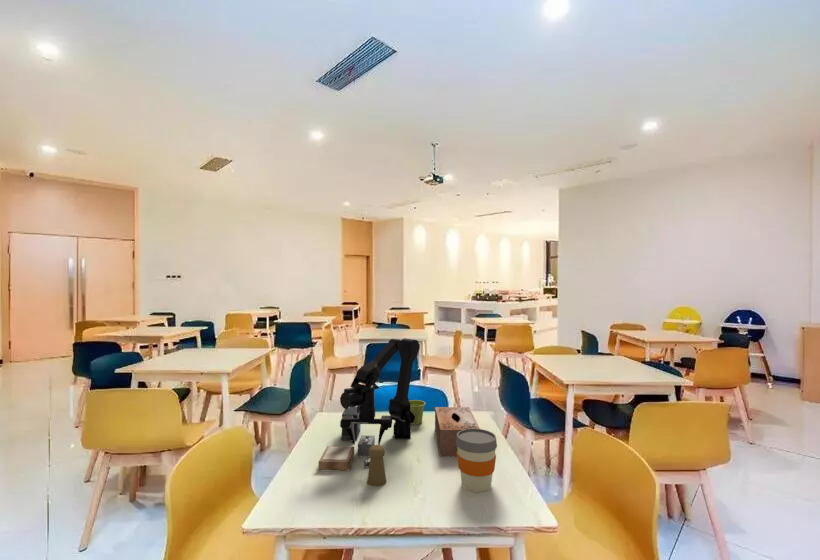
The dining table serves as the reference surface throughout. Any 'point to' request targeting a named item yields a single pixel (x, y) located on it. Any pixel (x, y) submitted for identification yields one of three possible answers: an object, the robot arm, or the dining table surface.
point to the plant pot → (417, 410)
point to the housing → (365, 445)
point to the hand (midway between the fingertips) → (366, 444)
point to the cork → (376, 466)
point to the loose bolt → (366, 463)
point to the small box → (356, 426)
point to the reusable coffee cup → (476, 458)
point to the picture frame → (336, 458)
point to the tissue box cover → (451, 427)
